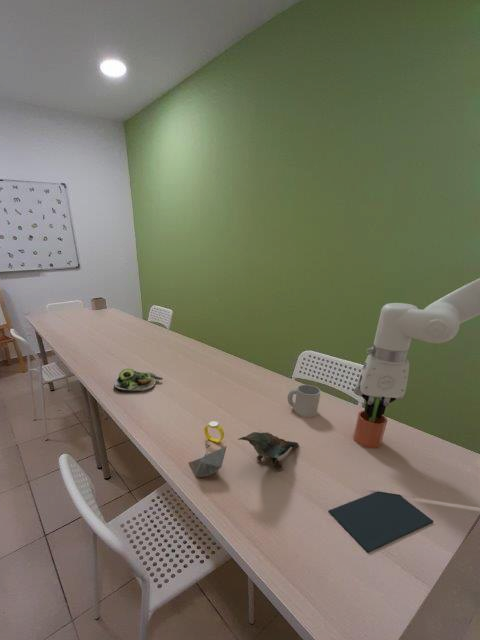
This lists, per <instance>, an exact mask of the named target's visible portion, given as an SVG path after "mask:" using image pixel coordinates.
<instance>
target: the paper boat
mask: <svg viewBox="0 0 480 640" xmlns="http://www.w3.org/2000/svg"><path fill="white" fill-rule="evenodd" d="M209 447H211V444H205V451H206V452H205V454H204V456H203V457H201V458H198V459H195V460H192V461H190V462H188V465H189V467H190V469H191V471H192V472H193V475H194V477H195V478H204V477H209V476H211V475H214V474H215V473H216V472H217V471H218V470H220V469H221V468H222V467H223V463H224V458H225V455H226V451H227V447H228V445H226V446H223V447H221V448H219V449H217V450H215V451H213V452H211V453H208V450H207V449H208V448H209Z"/></svg>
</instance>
